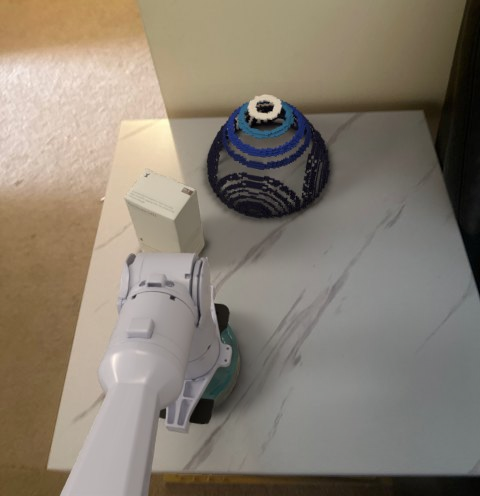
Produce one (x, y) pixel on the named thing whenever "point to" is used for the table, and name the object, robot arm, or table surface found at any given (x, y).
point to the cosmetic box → (165, 215)
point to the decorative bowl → (277, 112)
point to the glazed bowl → (224, 372)
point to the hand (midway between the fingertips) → (202, 379)
